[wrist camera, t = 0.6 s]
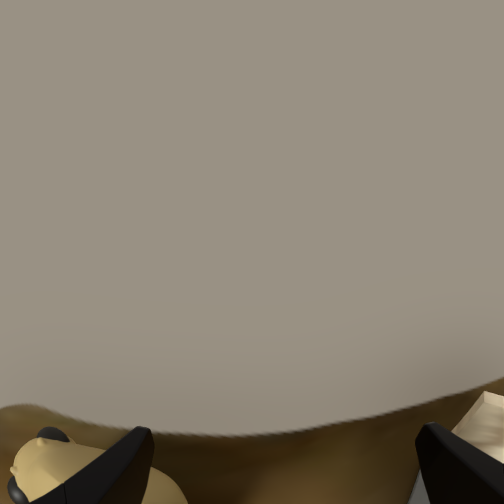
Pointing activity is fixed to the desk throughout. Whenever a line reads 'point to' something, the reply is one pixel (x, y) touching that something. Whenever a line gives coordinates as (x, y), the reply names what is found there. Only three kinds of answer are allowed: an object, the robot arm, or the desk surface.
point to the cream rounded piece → (70, 469)
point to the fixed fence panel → (484, 425)
